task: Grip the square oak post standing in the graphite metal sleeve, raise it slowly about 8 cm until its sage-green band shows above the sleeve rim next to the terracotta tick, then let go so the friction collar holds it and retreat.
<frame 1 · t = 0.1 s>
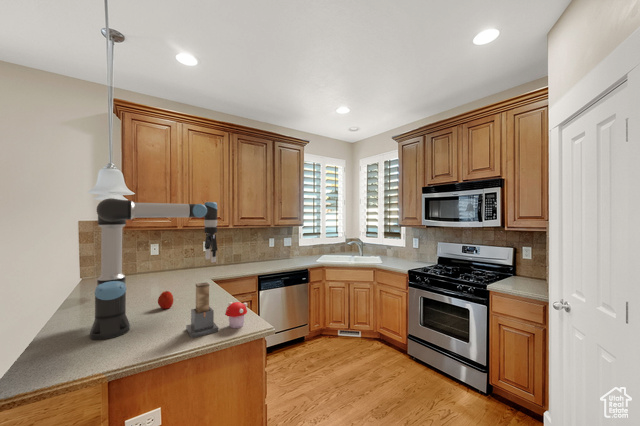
hand: (210, 260, 169), 28 cm above the worktop, fingers open, 13 cm apart
apple: (165, 308, 164), on the worktop
mushroom: (236, 326, 138), on the worktop
sleeve: (202, 330, 132), on the worktop
post: (202, 305, 132), point 12 cm above the worktop, slide at 0.0 cm
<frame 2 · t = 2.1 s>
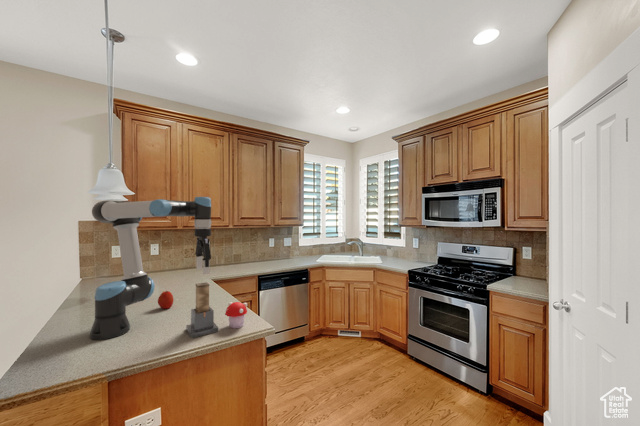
hand: (202, 271, 133), 29 cm above the worktop, fingers open, 13 cm apart
nothing on the worktop moved.
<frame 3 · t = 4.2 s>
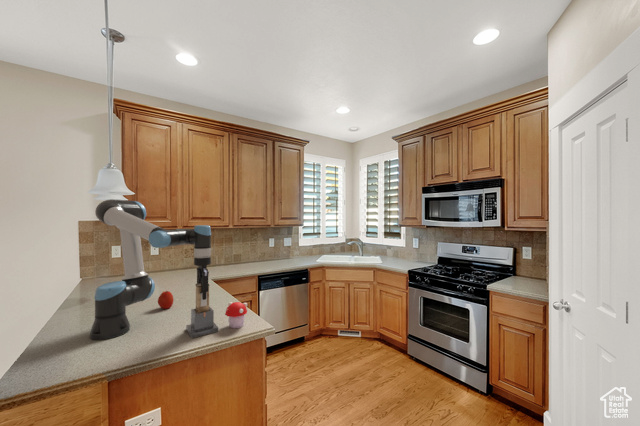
hand: (202, 304, 132), 13 cm above the worktop, fingers closed on post, 5 cm apart
post: (202, 305, 132), point 12 cm above the worktop, slide at 0.0 cm, touching gripper
everything else where it was.
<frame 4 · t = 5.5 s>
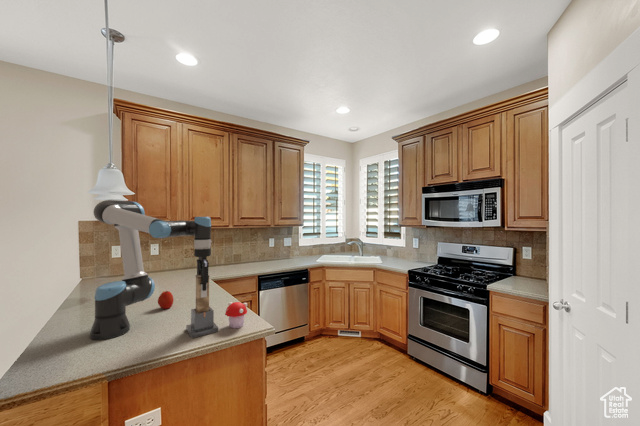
hand: (202, 295, 132), 17 cm above the worktop, fingers closed on post, 5 cm apart
post: (202, 296, 132), point 17 cm above the worktop, slide at 4.3 cm, touching gripper
everything else where it was.
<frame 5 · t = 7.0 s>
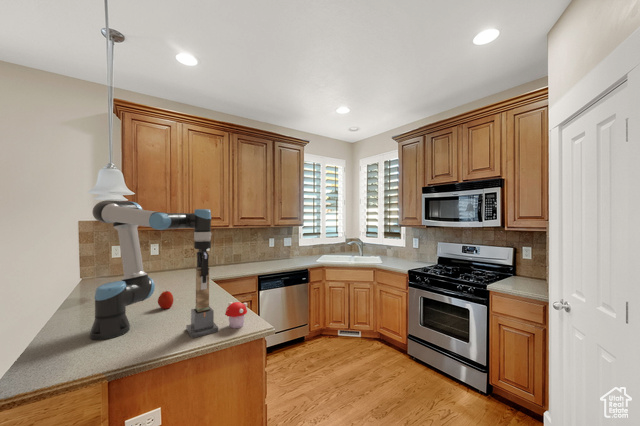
hand: (202, 287, 132), 21 cm above the worktop, fingers closed on post, 5 cm apart
post: (202, 288, 132), point 20 cm above the worktop, slide at 8.0 cm, touching gripper
everything else where it was.
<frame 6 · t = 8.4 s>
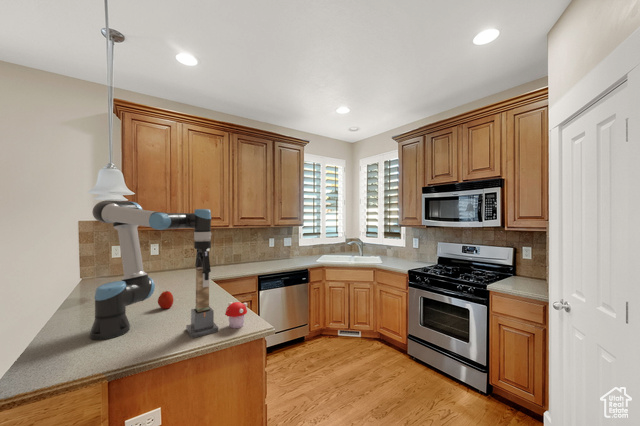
hand: (202, 283, 132), 23 cm above the worktop, fingers open, 13 cm apart
post: (202, 288, 132), point 20 cm above the worktop, slide at 8.0 cm
everything else where it was.
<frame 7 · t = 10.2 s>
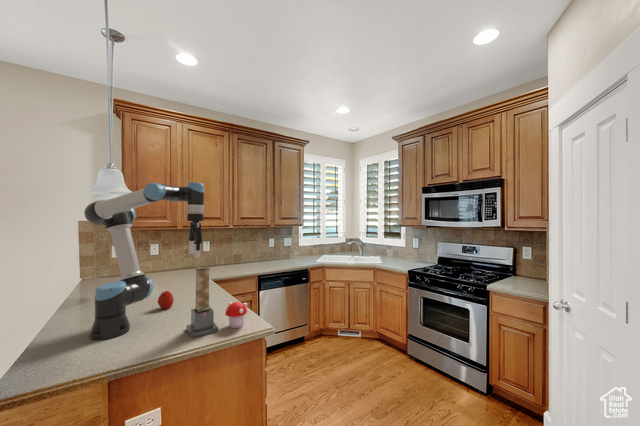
hand: (194, 255, 136), 36 cm above the worktop, fingers open, 13 cm apart
nothing on the worktop moved.
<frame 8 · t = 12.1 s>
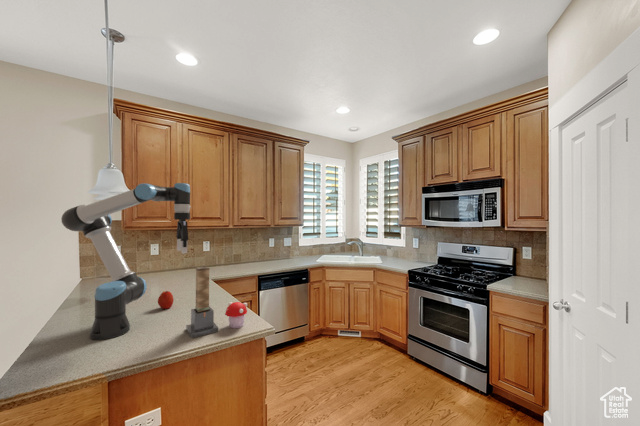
hand: (181, 252, 144), 37 cm above the worktop, fingers open, 13 cm apart
nothing on the worktop moved.
at the end: post slide at 8.0 cm; the gripper is holding nothing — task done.
